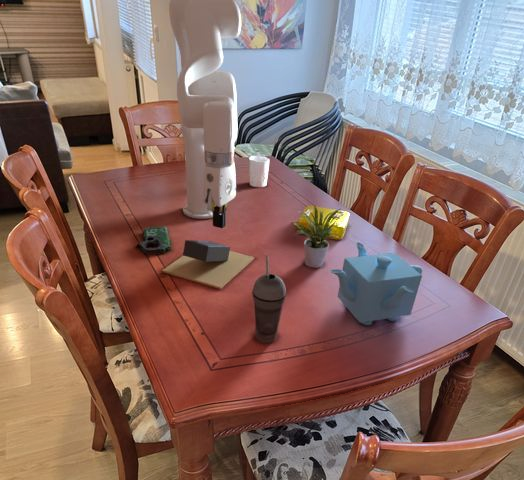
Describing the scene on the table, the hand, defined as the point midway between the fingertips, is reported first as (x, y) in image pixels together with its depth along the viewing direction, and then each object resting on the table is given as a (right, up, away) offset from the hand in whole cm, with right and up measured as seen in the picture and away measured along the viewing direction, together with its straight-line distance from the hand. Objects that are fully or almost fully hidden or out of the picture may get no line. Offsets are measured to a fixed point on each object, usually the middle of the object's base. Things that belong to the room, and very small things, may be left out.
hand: (219, 226), depth 129 cm
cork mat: (-3, -10, +2) cm, 11 cm away
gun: (-21, -2, +12) cm, 24 cm away
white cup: (+10, +32, +58) cm, 67 cm away
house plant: (+27, -8, +8) cm, 30 cm away
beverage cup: (+13, -31, -23) cm, 41 cm away
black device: (-1, -6, +4) cm, 7 cm away
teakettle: (+38, -25, -12) cm, 47 cm away
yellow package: (+32, +6, +27) cm, 43 cm away
